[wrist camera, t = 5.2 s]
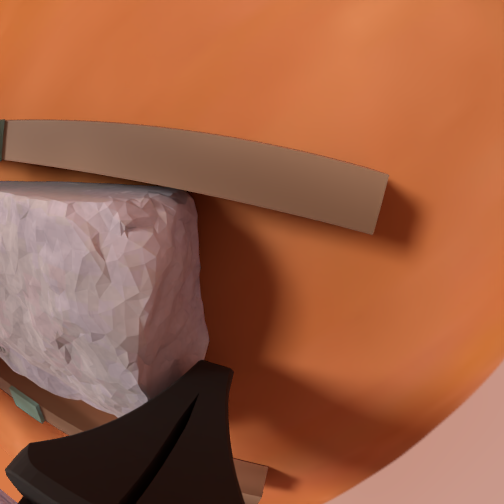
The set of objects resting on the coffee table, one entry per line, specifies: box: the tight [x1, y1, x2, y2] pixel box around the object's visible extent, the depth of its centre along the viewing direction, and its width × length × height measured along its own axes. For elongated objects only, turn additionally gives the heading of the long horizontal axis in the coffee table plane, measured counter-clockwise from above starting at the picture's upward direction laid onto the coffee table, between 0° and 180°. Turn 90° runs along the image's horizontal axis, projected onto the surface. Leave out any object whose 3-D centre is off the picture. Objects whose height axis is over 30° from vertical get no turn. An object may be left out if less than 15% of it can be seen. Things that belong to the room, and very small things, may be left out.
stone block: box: [0, 181, 209, 418], centre depth 11 cm, size 12×5×10 cm
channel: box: [0, 119, 389, 504], centre depth 12 cm, size 16×22×2 cm
